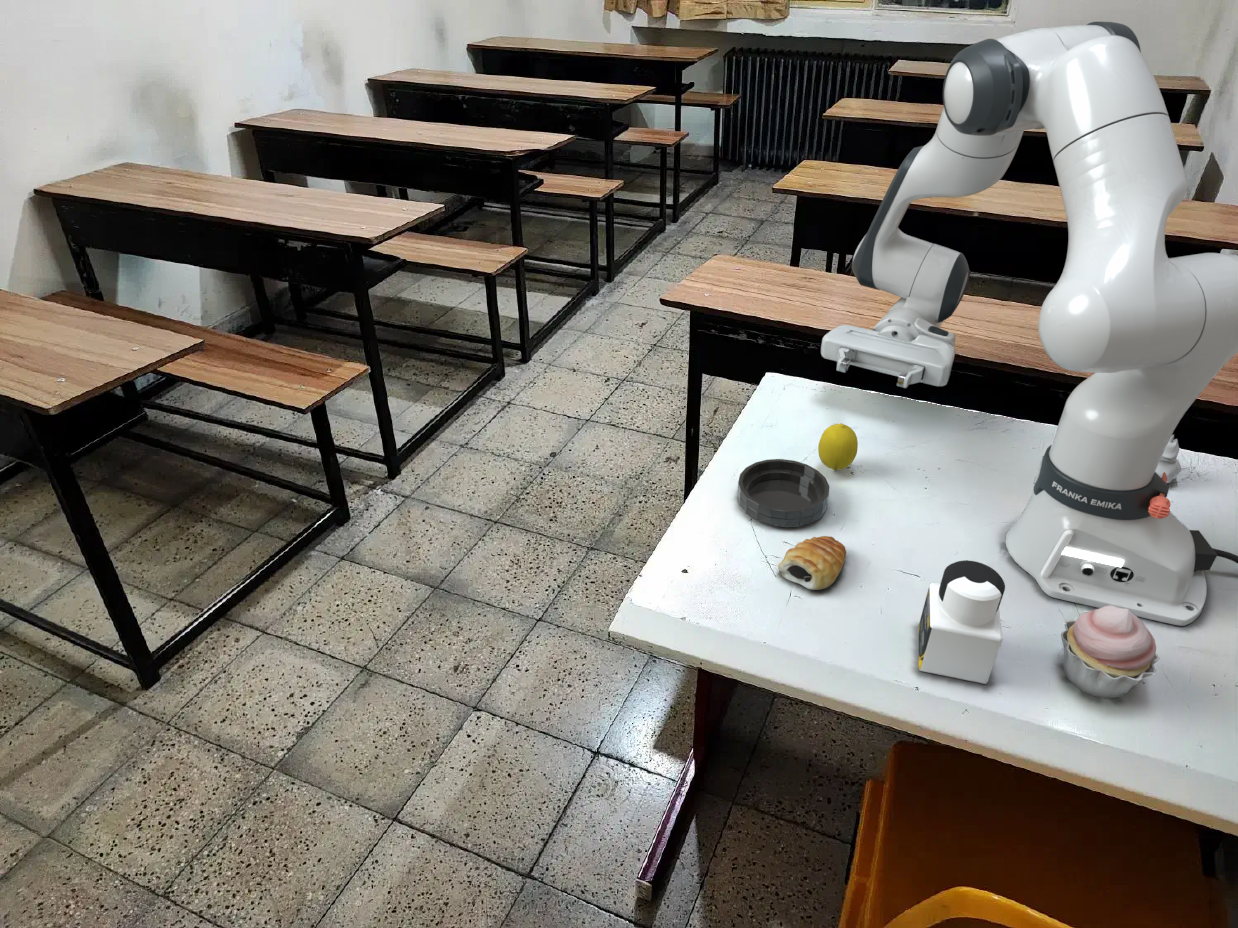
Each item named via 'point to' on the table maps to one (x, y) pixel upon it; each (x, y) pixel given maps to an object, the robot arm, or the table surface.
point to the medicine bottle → (962, 623)
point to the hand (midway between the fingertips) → (871, 375)
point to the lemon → (838, 446)
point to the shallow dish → (783, 492)
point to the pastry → (814, 562)
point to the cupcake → (1108, 651)
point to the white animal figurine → (1169, 461)
